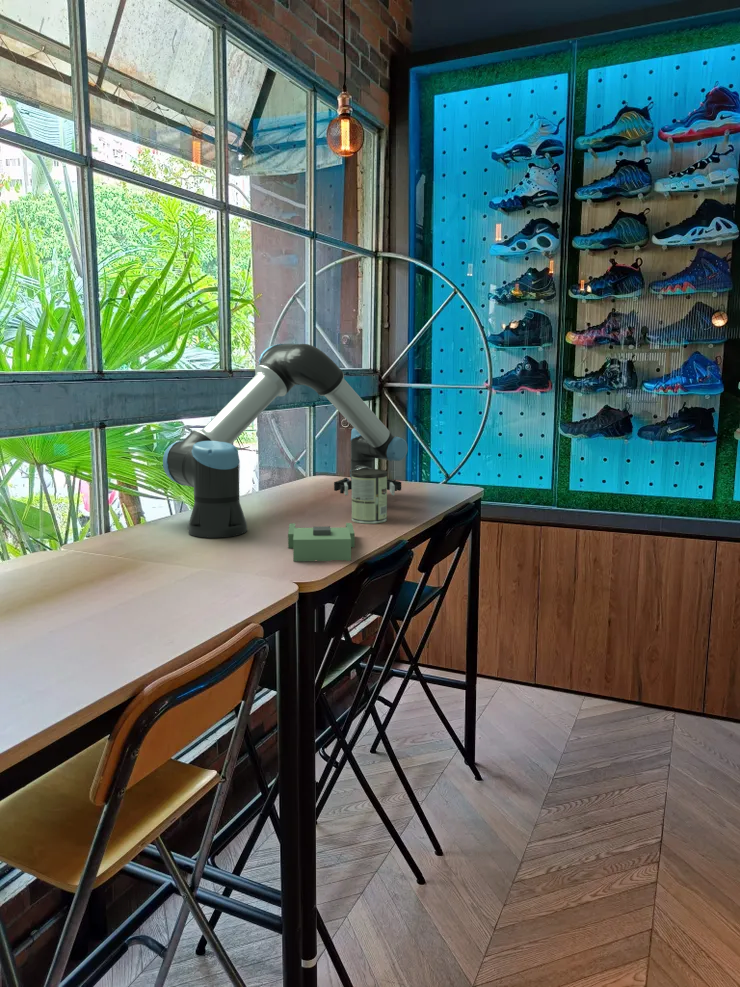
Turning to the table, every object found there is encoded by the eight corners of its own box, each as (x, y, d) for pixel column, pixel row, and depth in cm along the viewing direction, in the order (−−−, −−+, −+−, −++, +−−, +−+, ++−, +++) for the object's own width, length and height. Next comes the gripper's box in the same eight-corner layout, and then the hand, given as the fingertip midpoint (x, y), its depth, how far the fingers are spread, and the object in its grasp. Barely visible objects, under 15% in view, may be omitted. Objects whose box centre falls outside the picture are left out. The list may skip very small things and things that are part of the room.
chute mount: (286, 561, 166) (286, 534, 165) (289, 536, 190) (289, 513, 189) (357, 560, 168) (357, 533, 167) (351, 536, 191) (351, 512, 190)
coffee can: (353, 516, 216) (353, 468, 214) (388, 517, 215) (388, 469, 213) (348, 523, 206) (348, 473, 204) (385, 524, 205) (386, 474, 203)
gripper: (403, 490, 236) (412, 503, 216) (325, 491, 234) (326, 503, 213) (403, 467, 235) (413, 477, 214) (325, 467, 233) (326, 478, 212)
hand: (370, 490), depth 214 cm, fingers open, 13 cm apart
